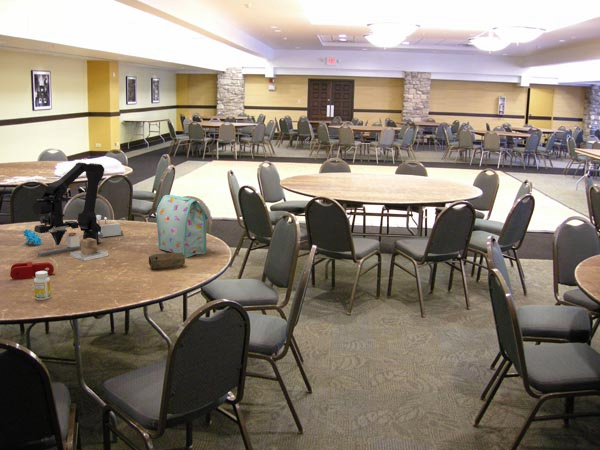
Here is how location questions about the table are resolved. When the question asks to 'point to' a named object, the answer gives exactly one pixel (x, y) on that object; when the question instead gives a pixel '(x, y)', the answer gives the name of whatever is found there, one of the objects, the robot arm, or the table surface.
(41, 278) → the supplement bottle
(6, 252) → the table surface
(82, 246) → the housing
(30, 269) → the mechanical linkage
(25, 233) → the blue lobed piece
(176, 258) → the stone weight
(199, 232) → the lunch bag
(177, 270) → the table surface
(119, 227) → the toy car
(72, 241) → the white rectangular block
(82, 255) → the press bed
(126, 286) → the table surface
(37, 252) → the rail
